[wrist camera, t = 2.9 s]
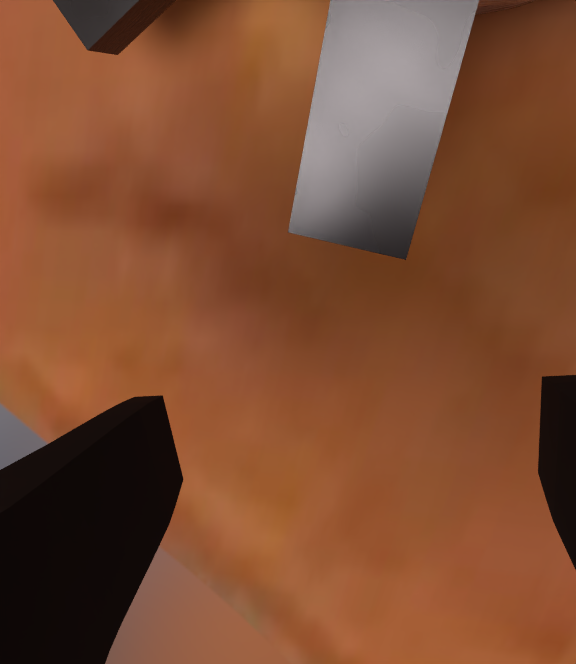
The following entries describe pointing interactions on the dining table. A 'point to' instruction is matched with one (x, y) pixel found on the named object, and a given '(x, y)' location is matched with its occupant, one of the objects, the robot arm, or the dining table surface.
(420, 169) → the lid
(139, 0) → the cooker pot
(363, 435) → the dining table surface
